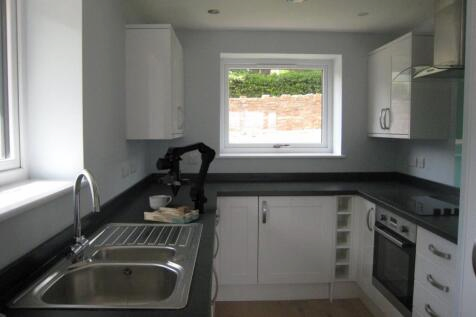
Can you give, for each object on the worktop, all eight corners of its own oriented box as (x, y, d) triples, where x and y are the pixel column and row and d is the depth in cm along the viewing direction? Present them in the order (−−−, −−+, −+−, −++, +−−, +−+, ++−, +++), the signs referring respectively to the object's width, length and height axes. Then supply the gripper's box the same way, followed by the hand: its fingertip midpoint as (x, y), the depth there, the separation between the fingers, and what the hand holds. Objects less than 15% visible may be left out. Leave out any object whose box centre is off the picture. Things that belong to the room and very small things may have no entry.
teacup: (149, 211, 229) (149, 198, 228) (149, 207, 240) (148, 195, 239) (172, 209, 233) (172, 196, 232) (171, 206, 243) (171, 193, 243)
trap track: (160, 213, 222) (160, 206, 221) (198, 217, 211) (198, 209, 211) (144, 219, 208) (144, 211, 208) (184, 224, 197) (184, 215, 197)
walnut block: (183, 213, 212) (183, 206, 211) (188, 214, 209) (188, 207, 209) (178, 214, 209) (178, 207, 208) (183, 215, 206) (183, 208, 206)
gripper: (152, 169, 207) (152, 197, 208) (180, 171, 199) (181, 200, 200) (163, 167, 217) (164, 194, 218) (191, 169, 209) (192, 196, 210)
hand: (174, 196), depth 211 cm, fingers closed
